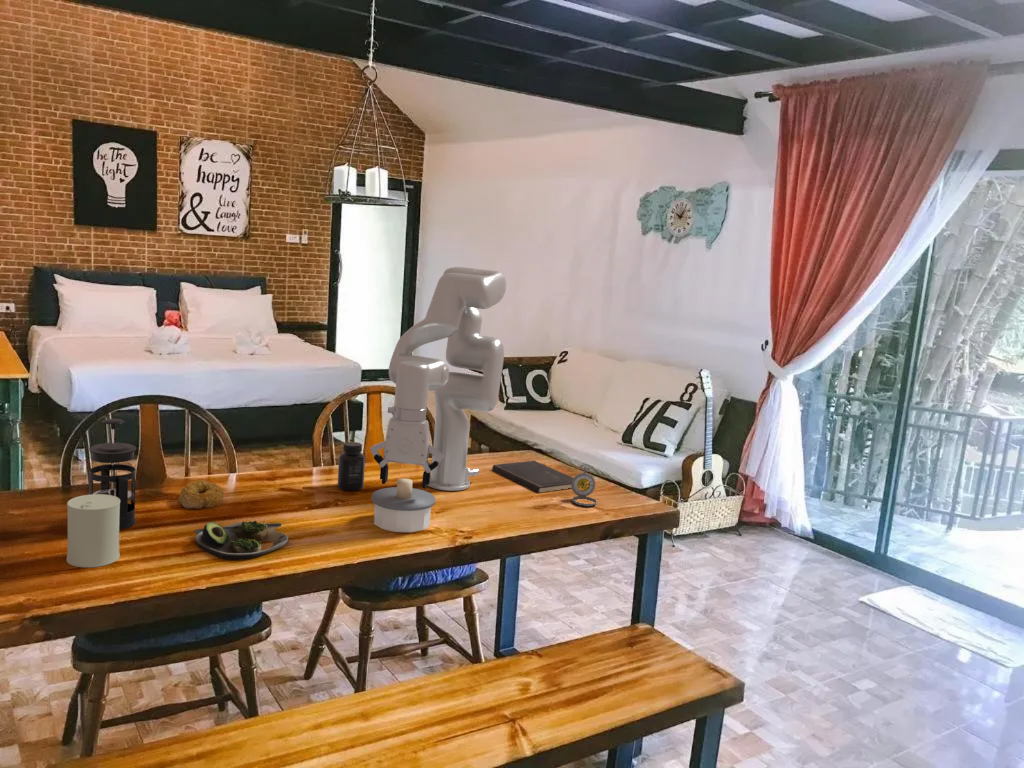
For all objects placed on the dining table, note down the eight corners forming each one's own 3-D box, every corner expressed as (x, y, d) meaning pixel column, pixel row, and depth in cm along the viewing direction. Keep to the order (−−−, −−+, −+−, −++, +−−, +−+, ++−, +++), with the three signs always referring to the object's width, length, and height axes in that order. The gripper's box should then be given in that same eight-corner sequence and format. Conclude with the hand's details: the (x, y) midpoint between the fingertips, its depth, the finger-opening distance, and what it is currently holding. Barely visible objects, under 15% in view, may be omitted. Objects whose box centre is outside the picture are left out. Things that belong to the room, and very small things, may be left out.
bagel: (167, 506, 189) (168, 487, 188) (195, 494, 200) (196, 475, 199) (206, 514, 187) (207, 494, 187) (232, 500, 198) (233, 482, 197)
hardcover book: (533, 467, 255) (534, 460, 254) (581, 489, 237) (582, 481, 236) (491, 472, 245) (492, 464, 245) (538, 495, 227) (539, 487, 227)
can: (57, 566, 153) (57, 505, 151) (78, 547, 162) (79, 490, 160) (109, 569, 154) (109, 508, 152) (127, 550, 163) (127, 493, 161)
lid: (410, 487, 203) (412, 468, 202) (447, 504, 192) (449, 485, 192) (359, 495, 193) (360, 476, 192) (395, 514, 182) (396, 494, 181)
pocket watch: (584, 508, 217) (588, 472, 215) (562, 499, 223) (566, 464, 222) (605, 504, 223) (609, 469, 221) (583, 495, 229) (587, 461, 227)
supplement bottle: (366, 485, 219) (369, 442, 217) (359, 493, 212) (362, 448, 210) (341, 482, 219) (344, 439, 217) (333, 489, 213) (336, 445, 210)
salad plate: (257, 521, 186) (258, 502, 186) (309, 543, 176) (310, 523, 176) (180, 541, 171) (181, 520, 170) (232, 567, 161) (233, 545, 160)
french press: (80, 519, 176) (80, 416, 172) (125, 512, 183) (127, 412, 179) (99, 536, 168) (100, 428, 164) (145, 528, 175) (147, 424, 171)
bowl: (409, 510, 203) (411, 488, 202) (439, 526, 193) (441, 504, 192) (363, 517, 194) (365, 495, 193) (393, 535, 185) (394, 512, 184)
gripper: (369, 413, 186) (364, 485, 189) (444, 421, 185) (438, 493, 188) (377, 407, 193) (372, 476, 196) (449, 415, 192) (443, 484, 195)
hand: (404, 484), depth 192 cm, fingers open, 9 cm apart
